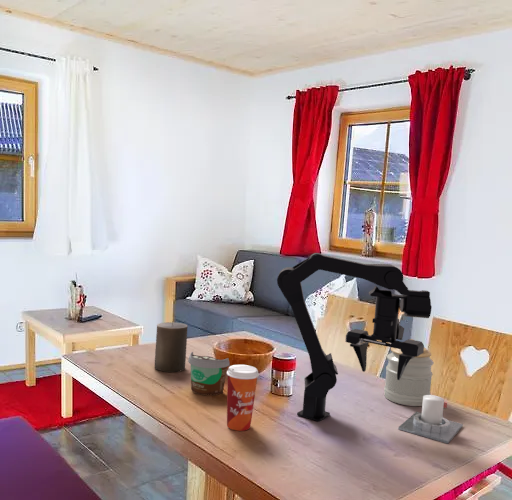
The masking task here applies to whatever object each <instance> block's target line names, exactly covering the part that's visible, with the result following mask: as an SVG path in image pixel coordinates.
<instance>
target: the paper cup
mask: <svg viewBox="0 0 512 500" xmlns="http://www.w3.org/2000/svg"><path fill="white" fill-rule="evenodd" d="M259 375H260V373H259V370H258V368H256V367H255V366H252V365H247V364H233V365H230V366H228V368H227V372H226V376H227V387H226V389H227V393H226V397H227V398H226V399H227V400H226V425H227V428H228V429H230V430H232V431H237V432H239V431H240V432H241V431H242V432H243V431H248V430H249V429H250V428H251V423H252V418H253V412H254V403H255V397H256V396H255V395H256V390H257V383H258V382H257V381H258V378H259Z"/></svg>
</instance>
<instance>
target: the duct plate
mask: <svg viewBox="0 0 512 500" xmlns="http://www.w3.org/2000/svg"><path fill="white" fill-rule="evenodd" d="M421 415H422V412H419V411H415V412H414V413H413V414H412V415H410V416H409V417H408V418H407V419H406V420H405V421H404V422H402V423H401V424H400V425H399V426H398V430H399V431H403V432H406V433H410V434H413V435H416V436H420V437H424V438H427V439H430V440H434V441H437V442H439V443H444V444H447V445H448V444H450V443H451V441H452V440H453V439H454V437H455V436H456V435H457V434H458V433H459V431H460V430H461V429H462V428H463V426H464V425H463V423H460V422H457V421H452V420H448V419H447V418H446V417H444V416H443V417H442V425H432V424H428V423H425V422H423V421H421Z"/></svg>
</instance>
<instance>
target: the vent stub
mask: <svg viewBox="0 0 512 500" xmlns="http://www.w3.org/2000/svg"><path fill="white" fill-rule="evenodd" d="M444 408H445V409H447V408H448V402H447V401H445V399H444V398H443V397H441V396H437V395H434V394H431V395H424V396H423V404H422V406H421V413H422V415H421V421H423V422H425V423H428V424H432V425H442V417H444V415H443V414H444Z"/></svg>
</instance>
